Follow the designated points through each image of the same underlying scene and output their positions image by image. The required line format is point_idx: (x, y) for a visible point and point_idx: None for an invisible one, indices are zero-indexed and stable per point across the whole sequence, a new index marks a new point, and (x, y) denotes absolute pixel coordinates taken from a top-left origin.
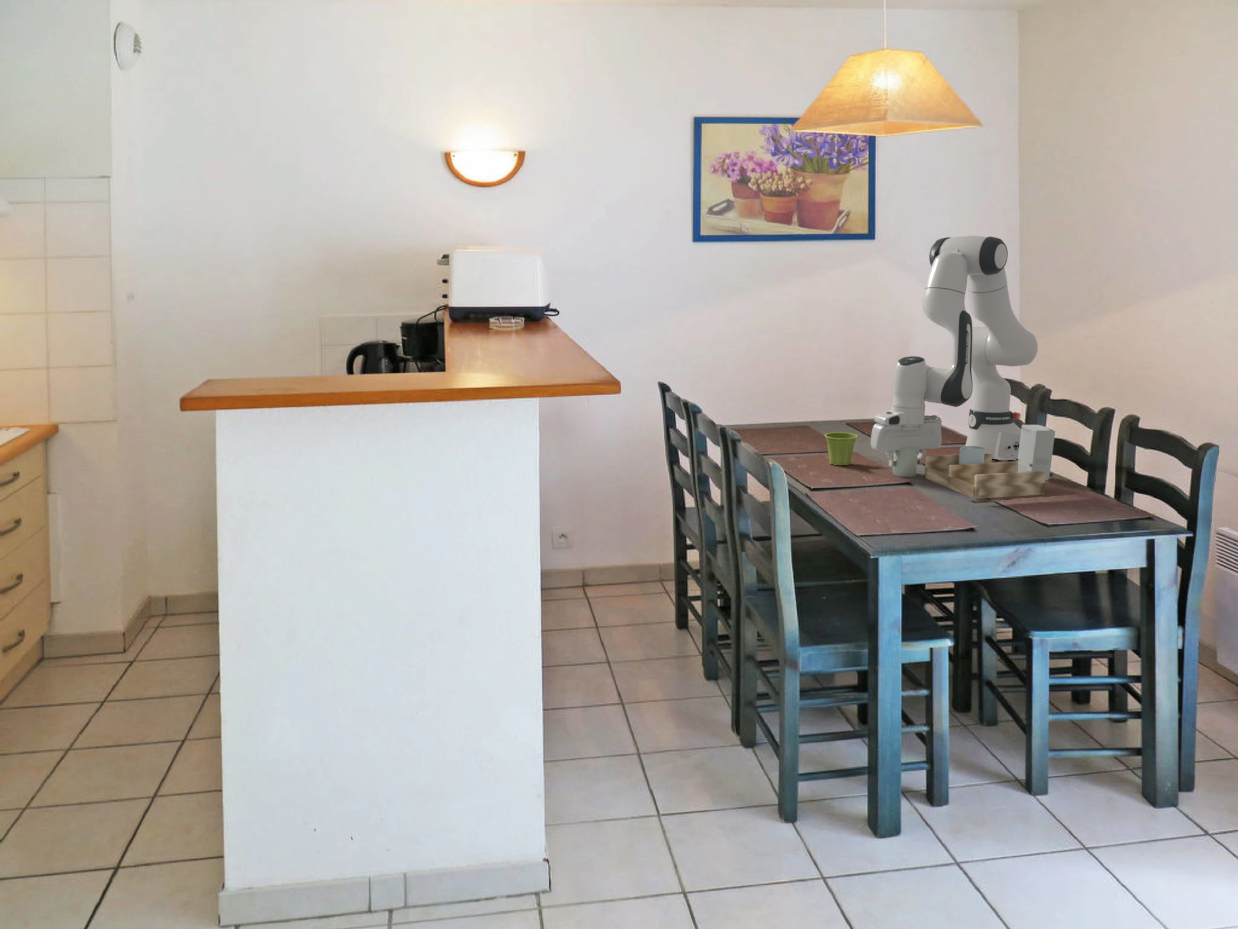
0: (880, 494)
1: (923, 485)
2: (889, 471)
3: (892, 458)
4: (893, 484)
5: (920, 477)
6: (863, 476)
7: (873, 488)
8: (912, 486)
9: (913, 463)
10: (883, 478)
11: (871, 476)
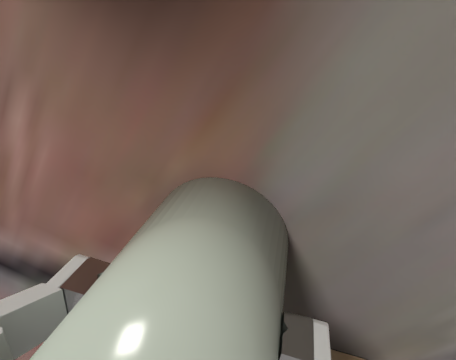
0: None
1: None
2: (260, 19)
3: (43, 337)
4: None
5: (326, 262)
6: (20, 95)
7: (11, 290)
8: None
9: None
10: (111, 186)
11: (64, 115)
